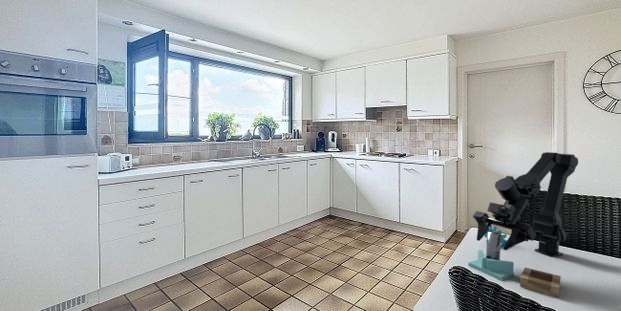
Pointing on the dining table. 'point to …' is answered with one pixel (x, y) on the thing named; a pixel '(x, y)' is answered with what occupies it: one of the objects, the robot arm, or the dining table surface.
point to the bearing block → (540, 282)
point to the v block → (493, 266)
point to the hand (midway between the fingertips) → (490, 244)
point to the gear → (501, 236)
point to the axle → (493, 245)
